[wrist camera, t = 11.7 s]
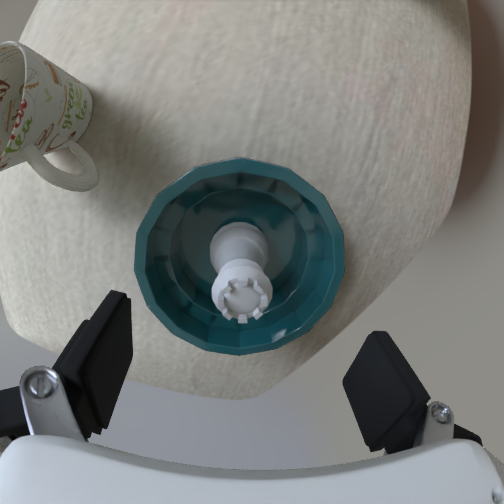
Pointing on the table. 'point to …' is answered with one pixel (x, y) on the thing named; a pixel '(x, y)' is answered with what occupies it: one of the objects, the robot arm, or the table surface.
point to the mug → (42, 116)
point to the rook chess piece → (240, 271)
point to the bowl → (203, 273)
